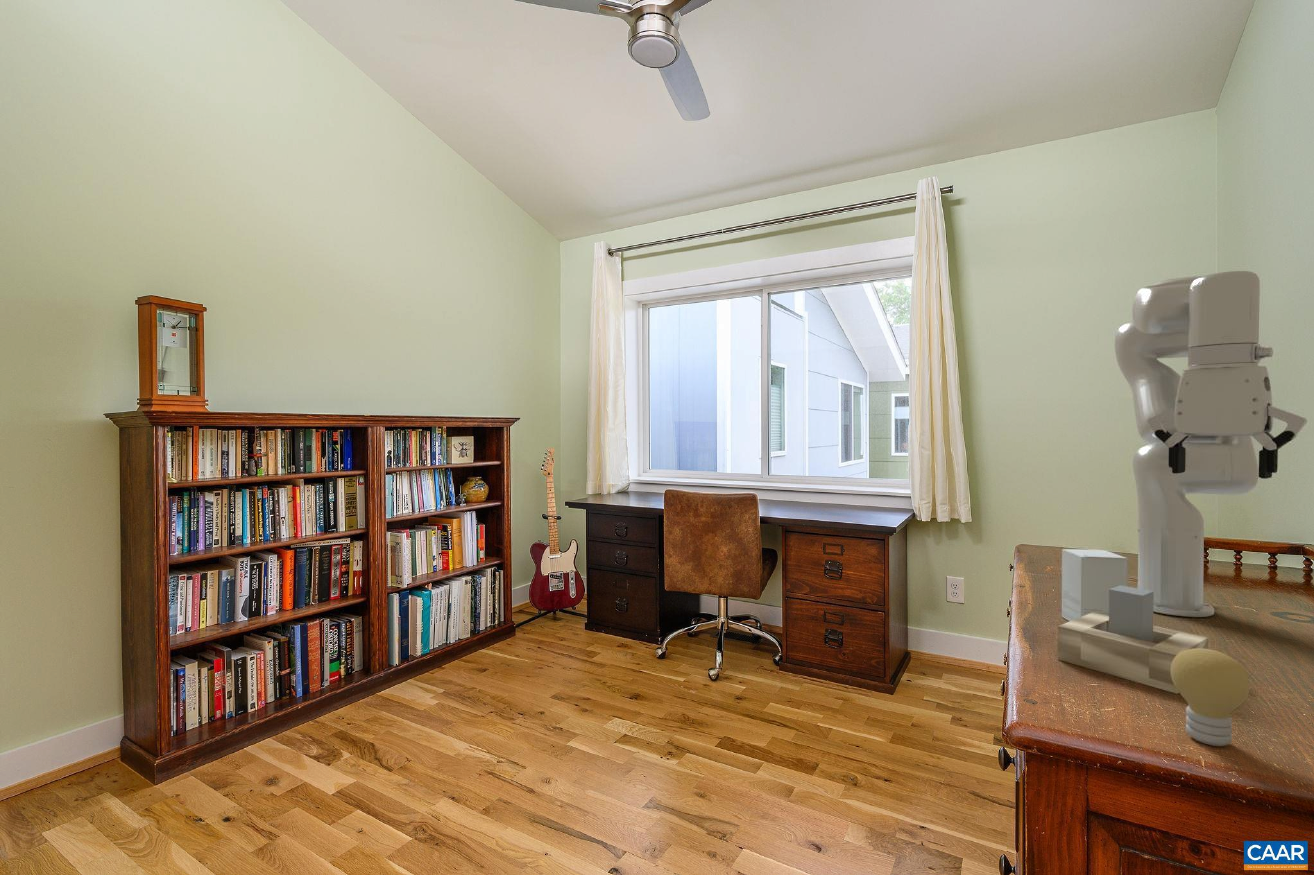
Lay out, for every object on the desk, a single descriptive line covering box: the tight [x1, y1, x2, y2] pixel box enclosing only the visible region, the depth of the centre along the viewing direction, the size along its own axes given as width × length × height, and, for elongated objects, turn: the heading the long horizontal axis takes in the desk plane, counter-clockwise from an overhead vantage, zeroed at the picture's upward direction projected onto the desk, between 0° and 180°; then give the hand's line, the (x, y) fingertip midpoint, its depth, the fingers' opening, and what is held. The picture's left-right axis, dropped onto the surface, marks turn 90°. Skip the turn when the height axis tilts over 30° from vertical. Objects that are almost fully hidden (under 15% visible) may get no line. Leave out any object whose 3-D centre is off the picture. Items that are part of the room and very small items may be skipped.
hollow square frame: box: [1057, 612, 1209, 695], centre depth 87 cm, size 12×14×5 cm
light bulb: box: [1171, 648, 1251, 747], centre depth 66 cm, size 6×6×10 cm
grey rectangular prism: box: [1109, 585, 1155, 643], centre depth 87 cm, size 4×4×10 cm
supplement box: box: [1061, 548, 1129, 622], centre depth 106 cm, size 7×7×13 cm
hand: (1220, 475), depth 89 cm, fingers open, 9 cm apart
